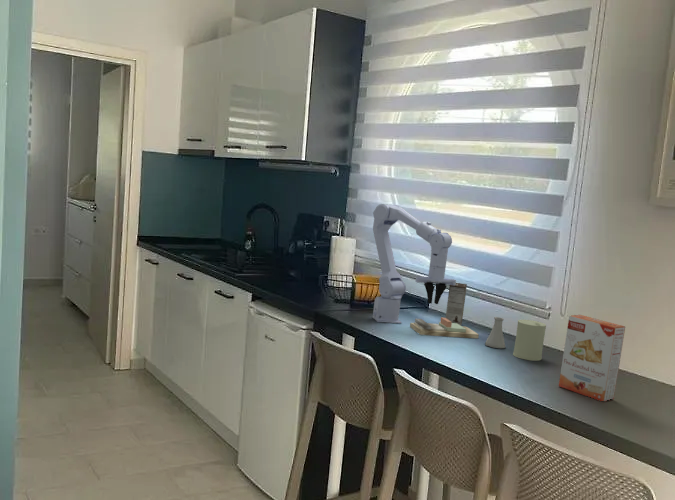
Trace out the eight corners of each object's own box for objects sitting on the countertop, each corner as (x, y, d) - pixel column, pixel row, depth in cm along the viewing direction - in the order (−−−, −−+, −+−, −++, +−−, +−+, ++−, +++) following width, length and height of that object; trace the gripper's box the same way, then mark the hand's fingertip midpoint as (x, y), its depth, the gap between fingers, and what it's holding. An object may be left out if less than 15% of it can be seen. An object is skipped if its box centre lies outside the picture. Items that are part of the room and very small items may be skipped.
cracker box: (557, 387, 196) (568, 314, 194) (569, 384, 200) (579, 313, 198) (603, 403, 185) (615, 326, 183) (614, 400, 189) (626, 325, 187)
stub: (446, 331, 247) (448, 322, 247) (438, 325, 256) (439, 316, 256) (465, 332, 249) (467, 323, 249) (456, 326, 258) (457, 318, 257)
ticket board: (420, 334, 244) (421, 325, 244) (409, 326, 256) (410, 317, 255) (478, 338, 249) (479, 329, 248) (465, 330, 260) (466, 321, 260)
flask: (507, 346, 241) (511, 318, 240) (503, 350, 234) (507, 321, 233) (487, 342, 244) (490, 314, 243) (482, 346, 237) (486, 317, 236)
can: (526, 361, 223) (531, 324, 221) (507, 353, 231) (511, 318, 229) (547, 360, 227) (552, 324, 226) (527, 352, 235) (532, 318, 234)
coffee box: (445, 321, 273) (450, 281, 271) (461, 324, 271) (467, 283, 270) (444, 326, 264) (449, 284, 262) (461, 328, 262) (466, 287, 261)
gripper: (421, 266, 243) (417, 304, 244) (460, 269, 246) (455, 307, 247) (415, 263, 250) (411, 300, 251) (453, 266, 253) (448, 303, 254)
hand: (432, 303), depth 250 cm, fingers closed
